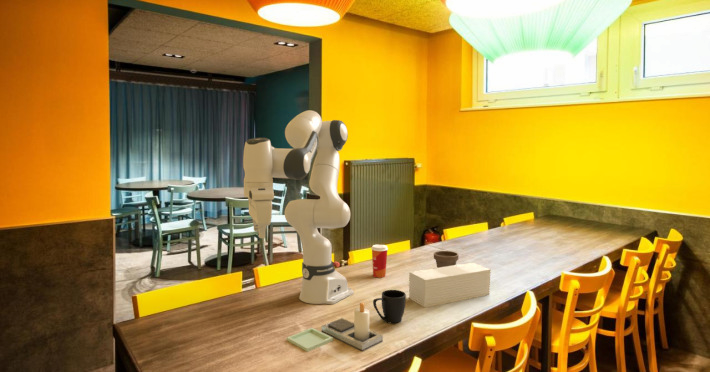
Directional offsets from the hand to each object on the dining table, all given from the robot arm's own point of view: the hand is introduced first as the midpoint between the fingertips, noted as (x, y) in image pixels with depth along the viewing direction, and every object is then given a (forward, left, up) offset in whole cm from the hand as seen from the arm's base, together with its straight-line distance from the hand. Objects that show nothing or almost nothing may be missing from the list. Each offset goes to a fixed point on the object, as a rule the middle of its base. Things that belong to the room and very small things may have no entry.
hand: (259, 234), depth 133 cm
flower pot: (-95, +8, -32) cm, 101 cm away
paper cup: (-71, -12, -32) cm, 79 cm away
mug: (-36, +23, -32) cm, 54 cm away
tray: (-7, +16, -32) cm, 37 cm away
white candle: (-18, +28, -31) cm, 45 cm away
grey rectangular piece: (-18, +23, -32) cm, 44 cm away
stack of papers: (-72, +25, -33) cm, 83 cm away
